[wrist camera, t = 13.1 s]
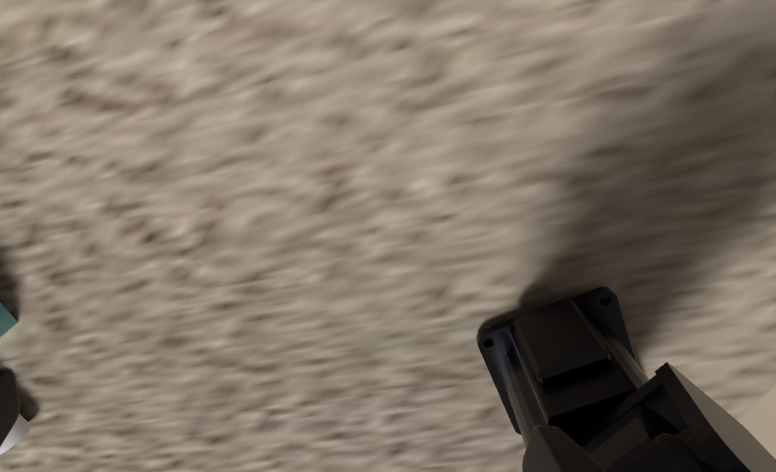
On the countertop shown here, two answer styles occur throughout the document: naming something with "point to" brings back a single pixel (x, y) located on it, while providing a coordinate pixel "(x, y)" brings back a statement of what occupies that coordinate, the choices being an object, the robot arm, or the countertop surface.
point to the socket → (3, 321)
